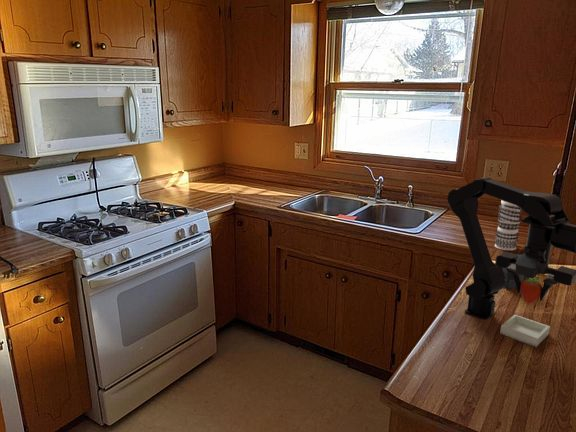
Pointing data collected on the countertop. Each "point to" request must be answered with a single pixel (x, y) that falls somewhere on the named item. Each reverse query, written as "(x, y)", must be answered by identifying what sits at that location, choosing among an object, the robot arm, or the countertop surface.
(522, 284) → the fruit
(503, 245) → the decorative candle
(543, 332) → the bin
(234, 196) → the countertop surface
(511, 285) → the box
